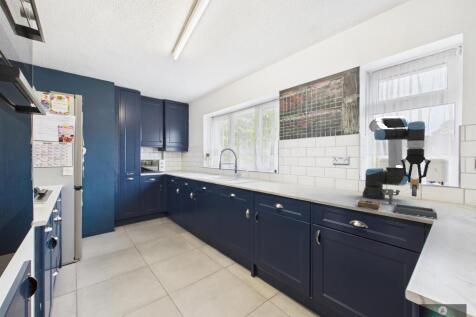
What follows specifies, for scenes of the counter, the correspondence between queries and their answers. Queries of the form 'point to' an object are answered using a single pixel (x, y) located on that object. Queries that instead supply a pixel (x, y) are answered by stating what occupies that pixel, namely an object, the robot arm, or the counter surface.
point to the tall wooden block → (414, 187)
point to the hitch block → (368, 204)
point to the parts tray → (415, 210)
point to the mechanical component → (390, 193)
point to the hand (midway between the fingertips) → (414, 188)
